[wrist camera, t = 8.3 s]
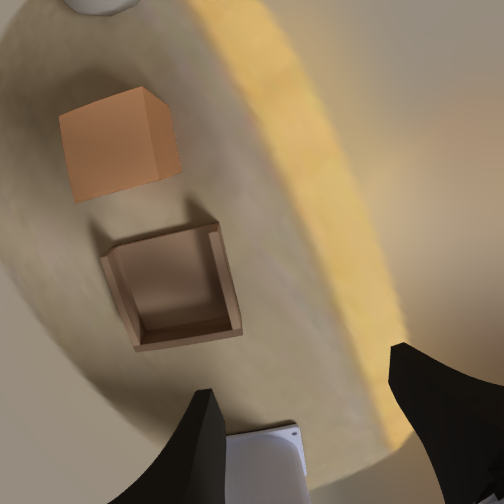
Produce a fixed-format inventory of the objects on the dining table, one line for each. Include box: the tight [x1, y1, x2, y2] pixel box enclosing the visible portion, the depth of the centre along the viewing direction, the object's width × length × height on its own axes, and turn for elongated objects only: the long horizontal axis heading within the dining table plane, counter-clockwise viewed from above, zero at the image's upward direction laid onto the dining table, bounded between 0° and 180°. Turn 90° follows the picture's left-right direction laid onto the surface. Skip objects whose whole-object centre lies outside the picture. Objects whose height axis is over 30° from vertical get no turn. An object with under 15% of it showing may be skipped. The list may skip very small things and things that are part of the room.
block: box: [59, 86, 182, 204], centre depth 14 cm, size 4×4×6 cm
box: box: [100, 222, 243, 352], centre depth 19 cm, size 6×7×2 cm
